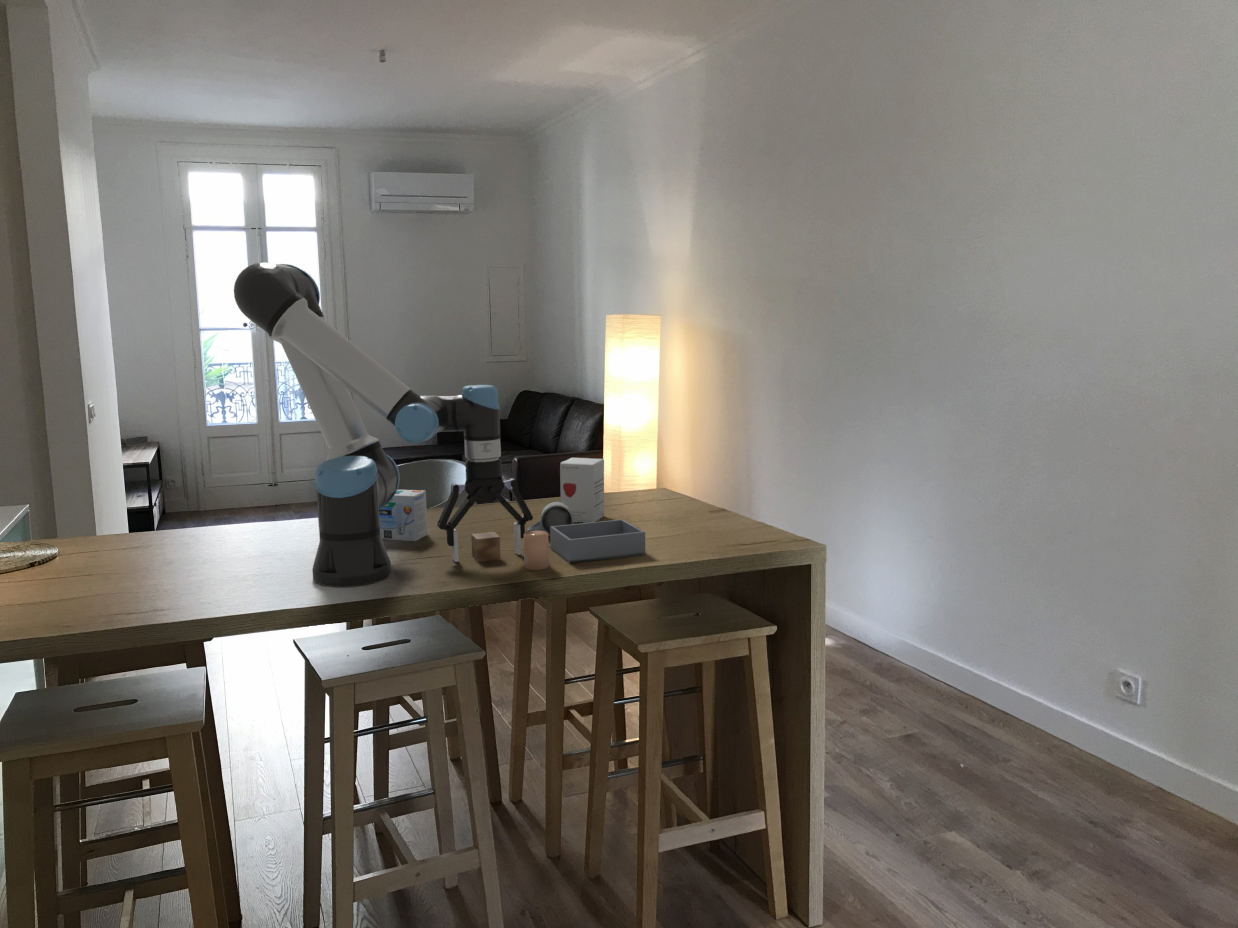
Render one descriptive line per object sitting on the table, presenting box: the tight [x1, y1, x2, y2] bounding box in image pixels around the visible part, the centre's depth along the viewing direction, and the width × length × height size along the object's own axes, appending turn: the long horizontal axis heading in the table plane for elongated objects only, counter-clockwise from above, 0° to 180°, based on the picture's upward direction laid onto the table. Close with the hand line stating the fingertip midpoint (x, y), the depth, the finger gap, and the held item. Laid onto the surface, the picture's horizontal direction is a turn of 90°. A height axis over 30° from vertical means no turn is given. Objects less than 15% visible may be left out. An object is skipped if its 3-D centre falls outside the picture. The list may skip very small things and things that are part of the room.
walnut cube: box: [470, 531, 501, 563], centre depth 199 cm, size 5×5×5 cm
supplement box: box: [559, 457, 605, 523], centre depth 233 cm, size 9×9×15 cm
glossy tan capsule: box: [523, 531, 550, 571], centre depth 192 cm, size 5×5×7 cm
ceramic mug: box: [527, 501, 574, 537], centre depth 219 cm, size 11×8×8 cm
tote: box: [549, 519, 646, 564], centre depth 203 cm, size 17×13×5 cm
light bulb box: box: [379, 489, 429, 542], centre depth 217 cm, size 11×7×11 cm, turn 76°
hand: (487, 556), depth 199 cm, fingers open, 13 cm apart
